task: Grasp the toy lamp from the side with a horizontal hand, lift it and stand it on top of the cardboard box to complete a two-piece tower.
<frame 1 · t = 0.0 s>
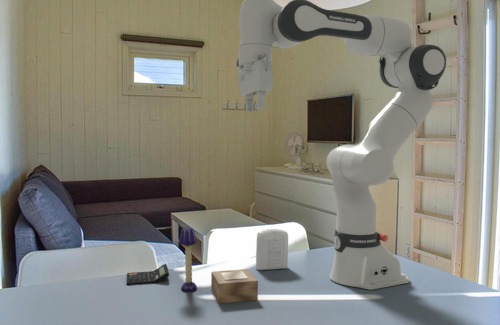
hand: (254, 110, 119), 48 cm above the table, tool pointing down, fingers open, 8 cm apart
cardboard box: (233, 294, 117), on the table
white upright block: (271, 268, 141), on the table
calculator: (147, 280, 130), on the table
toy lamp: (187, 290, 121), on the table
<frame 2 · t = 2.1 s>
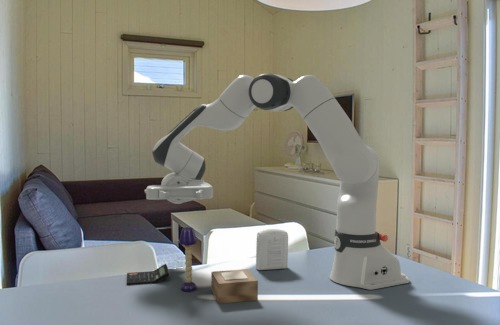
hand: (182, 195, 131), 24 cm above the table, tool horizontal, fingers open, 8 cm apart
nothing on the table moved.
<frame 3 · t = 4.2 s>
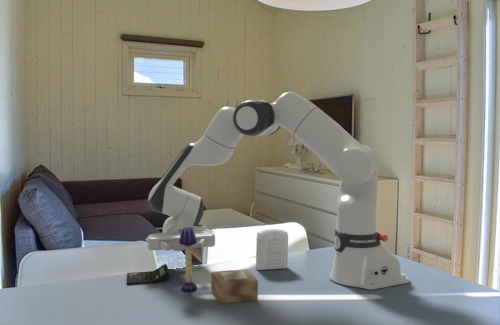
hand: (184, 246, 129), 9 cm above the table, tool horizontal, fingers open, 8 cm apart
nothing on the table moved.
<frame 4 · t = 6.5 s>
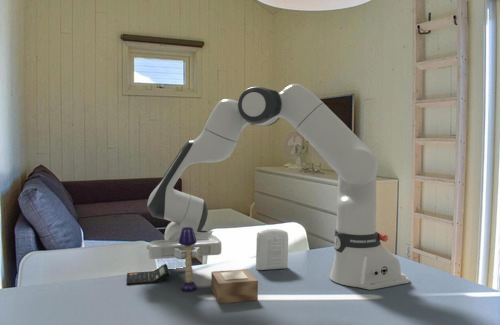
hand: (188, 255, 119), 10 cm above the table, tool horizontal, fingers closed on toy lamp, 2 cm apart
toy lamp: (187, 290, 121), on the table, touching gripper
everything else where it was.
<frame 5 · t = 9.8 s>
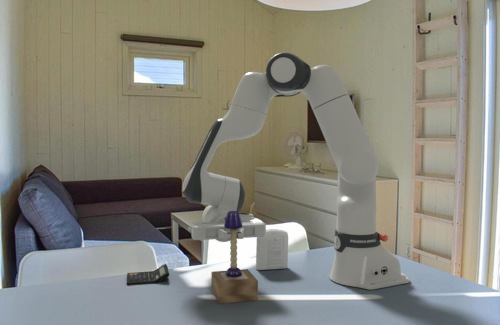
hand: (234, 236, 115), 16 cm above the table, tool horizontal, fingers closed on toy lamp, 2 cm apart
toy lamp: (232, 275, 117), point 5 cm above the table, touching gripper, cardboard box
everything else where it was.
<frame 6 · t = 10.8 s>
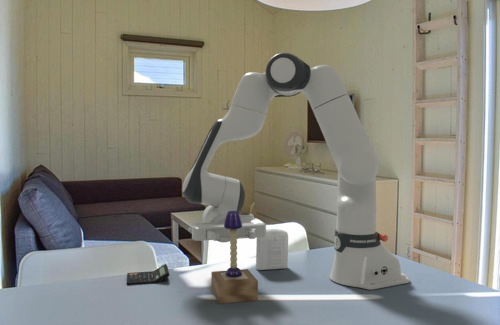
hand: (235, 236, 115), 16 cm above the table, tool horizontal, fingers open, 8 cm apart
toy lamp: (232, 275, 117), point 5 cm above the table, touching cardboard box
everything else where it was.
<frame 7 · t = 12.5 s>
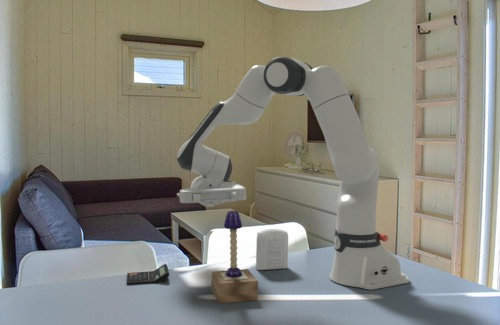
hand: (217, 197, 129), 23 cm above the table, tool horizontal, fingers open, 8 cm apart
nothing on the table moved.
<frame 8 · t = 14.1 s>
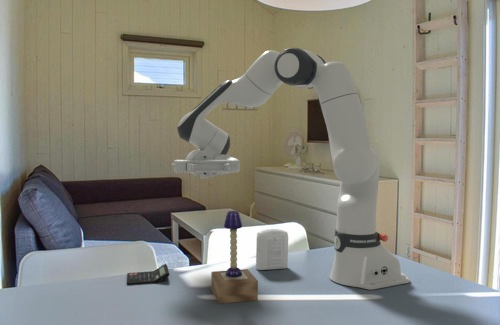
hand: (211, 167, 131), 32 cm above the table, tool horizontal, fingers open, 8 cm apart
nothing on the table moved.
at the end: toy lamp inside the target area on the cardboard box (0.4 cm from its centre), point 5.0 cm above the cardboard box's base; toy lamp tilted 0°; the gripper is holding nothing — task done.
